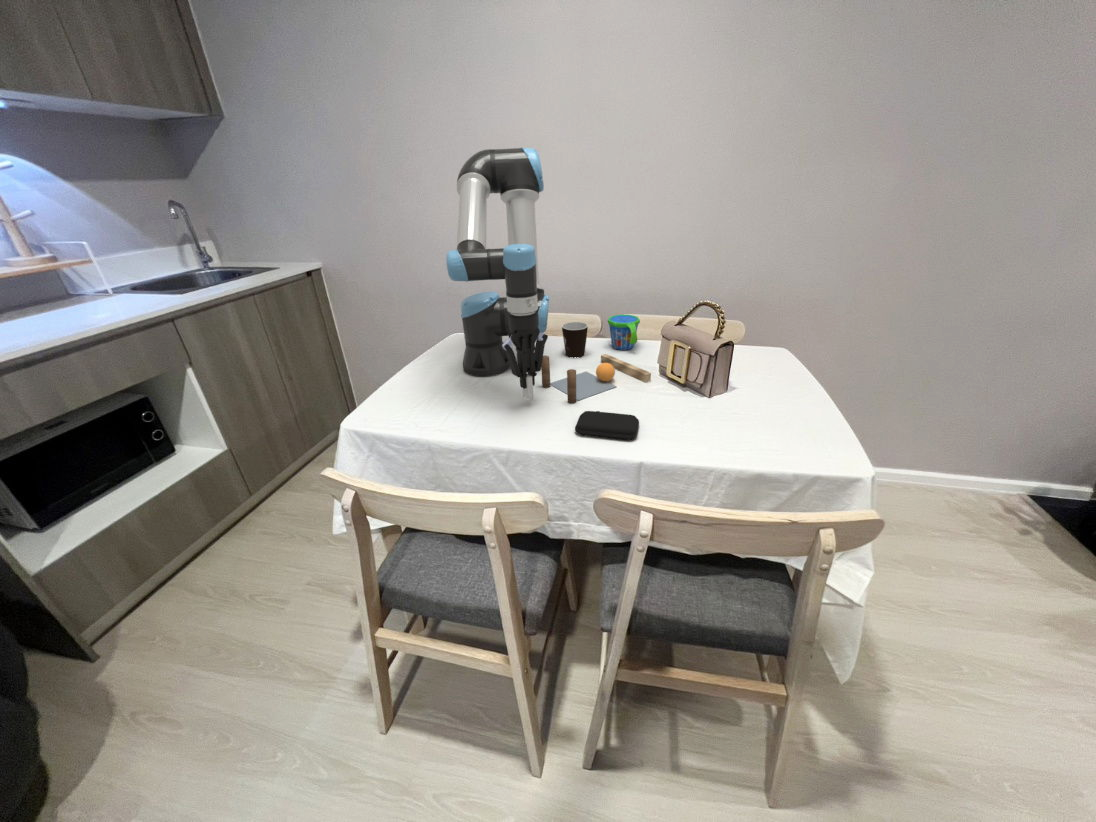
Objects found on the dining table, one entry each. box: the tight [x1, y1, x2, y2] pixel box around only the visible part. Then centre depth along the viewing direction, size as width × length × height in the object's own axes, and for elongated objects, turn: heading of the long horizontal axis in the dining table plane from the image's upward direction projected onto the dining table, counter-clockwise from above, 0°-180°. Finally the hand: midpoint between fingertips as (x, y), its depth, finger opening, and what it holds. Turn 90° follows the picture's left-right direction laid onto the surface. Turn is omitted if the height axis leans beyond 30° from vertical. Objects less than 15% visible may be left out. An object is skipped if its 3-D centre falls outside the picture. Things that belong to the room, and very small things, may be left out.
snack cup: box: [607, 313, 641, 351], centre depth 158 cm, size 16×10×10 cm
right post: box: [566, 368, 577, 404], centre depth 123 cm, size 2×2×9 cm
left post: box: [540, 355, 551, 389], centre depth 132 cm, size 2×2×9 cm
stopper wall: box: [600, 353, 652, 383], centre depth 141 cm, size 20×2×2 cm, turn 35°
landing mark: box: [550, 371, 617, 402], centre depth 134 cm, size 14×14×1 cm
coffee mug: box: [561, 321, 589, 359], centre depth 155 cm, size 12×9×10 cm
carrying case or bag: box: [574, 410, 640, 441], centre depth 111 cm, size 11×3×15 cm
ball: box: [595, 363, 616, 382], centre depth 135 cm, size 6×6×6 cm
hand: (528, 397), depth 124 cm, fingers closed
